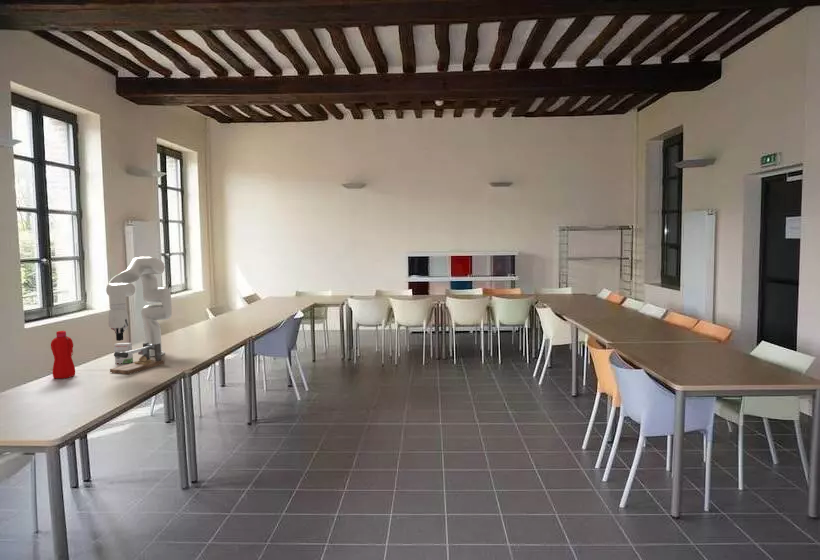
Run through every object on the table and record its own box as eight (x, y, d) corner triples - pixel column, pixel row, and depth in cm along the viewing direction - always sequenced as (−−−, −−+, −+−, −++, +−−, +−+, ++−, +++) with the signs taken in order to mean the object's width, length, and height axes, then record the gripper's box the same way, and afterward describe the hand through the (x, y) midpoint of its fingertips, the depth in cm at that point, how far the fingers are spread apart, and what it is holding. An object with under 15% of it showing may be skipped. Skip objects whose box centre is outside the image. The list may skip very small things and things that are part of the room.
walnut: (137, 363, 322) (137, 356, 322) (143, 361, 326) (142, 355, 326) (143, 363, 321) (142, 357, 321) (148, 362, 325) (148, 355, 324)
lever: (149, 350, 332) (149, 343, 332) (158, 351, 330) (158, 343, 330) (114, 359, 309) (113, 352, 308) (124, 360, 306) (123, 352, 306)
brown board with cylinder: (110, 372, 310) (108, 351, 309) (146, 362, 334) (145, 342, 333) (128, 374, 306) (127, 352, 305) (164, 363, 330) (162, 343, 329)
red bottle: (67, 379, 297) (64, 332, 294) (49, 378, 299) (46, 332, 297) (81, 375, 306) (78, 329, 303) (63, 374, 308) (60, 329, 306)
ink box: (133, 361, 336) (132, 342, 335) (129, 363, 331) (128, 343, 330) (119, 362, 336) (117, 342, 335) (114, 364, 331) (113, 344, 330)
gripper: (101, 307, 305) (103, 340, 307) (123, 308, 300) (124, 342, 302) (113, 305, 312) (115, 338, 314) (134, 306, 307) (135, 339, 309)
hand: (119, 340), depth 308 cm, fingers closed
